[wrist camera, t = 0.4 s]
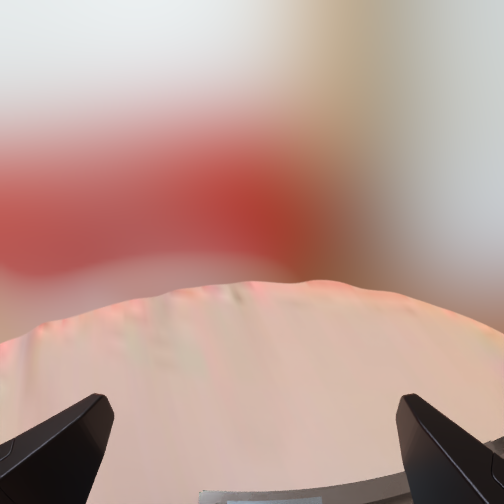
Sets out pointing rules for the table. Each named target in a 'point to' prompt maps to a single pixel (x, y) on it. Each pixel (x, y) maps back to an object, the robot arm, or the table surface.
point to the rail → (333, 491)
